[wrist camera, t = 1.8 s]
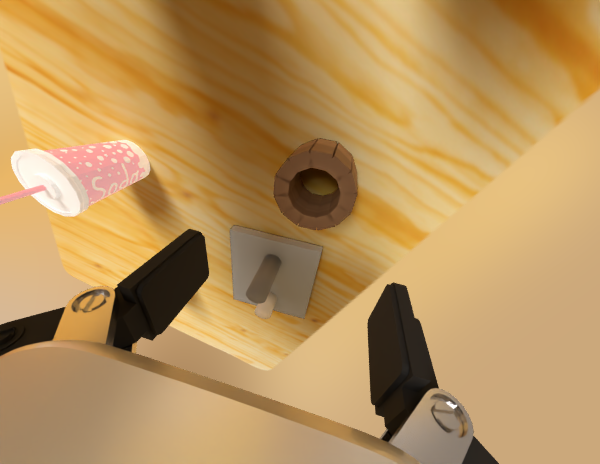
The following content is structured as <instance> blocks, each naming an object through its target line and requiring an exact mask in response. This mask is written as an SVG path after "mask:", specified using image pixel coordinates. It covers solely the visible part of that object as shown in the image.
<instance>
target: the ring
mask: <svg viewBox="0 0 600 464" xmlns="http://www.w3.org/2000/svg"><path fill="white" fill-rule="evenodd" d="M308 168H316V169H320V170H325V171H327V172H328V173H329V174H330V175H331V176H332V177H333V178H335V179H336V180H337V183H338V186H339V187H338V188H337V189H336V190H335V191H334V192H333V193H331V194H327V195H324V196H321V195H317V194H312V193H311V192H310V191H309V190H307V189H306V188H305V187H304V185H303V183H302V180H301V178H300V173H301V171H303V170H306V169H308ZM274 195H275V196H274V198H275V200H276V202H277V204H278V206H279V208H280V210H281V213H282V212H284V213H283V215H284V216H286V217H287V218H288V219H289V220H291V221H292V222H293V223H295V224H296V225H298V224H299V225H298V226H300V227H304V228H309V229H313V230H316V228H317V230H321V229H326V228H330V227H335V225H338V224H339V223H340V222H342V221H343V220H344V219H345V218H346V217H347V216H349V215H350V214H351V212H352V209H353V206H354V203H355V200H356V197H357V171H356V167H355V163H354V159H353V156H352V154H350V153H349V152H348V151H347V150H346V149H345V148H344V147H343V146H342V145H341V144H340V143H338V144H337V142H336V141H331V140H326V139H321V138H320V139H319V140H318V139H315V140H313V141H310V142H307V143H305V144H302V145H301V146H300V147H299V148H298V149H297V150H296V151H295V152H294V153H293V154H292V155H291V156H290V157H289V158H288V159H287V160H286V161H285V162H284V164H283V165H282V167H281V168H280V169H279V171H278V172H277V173H276V176H275V182H274Z"/></svg>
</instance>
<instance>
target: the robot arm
mask: <svg viewBox="0 0 600 464" xmlns="http://www.w3.org/2000/svg"><path fill="white" fill-rule="evenodd" d="M208 276H209V268H208V260H207V252H206V244H205V237H204V236H203V235H202V233H201V232H199V231H195V230H191V229H188V230H187V231H185V232H184V233H183V234H182V235H180V236H179V237H178V238H176V239H175V240H174V241H173V242H171V243H170V244H169V245H168V246H166V247H165V248H164V249H162V250H161V251H160V252H159V253H157V254H156V255H155V256H153V257H152V258H151V259H150V260H148V261H147V262H146V263H144V264H143V265H142V266H141V267H139V268H138V269H137V270H136V271H134V272H133V273H132V274H130V275H129V276H128V277H127V278H125V279H124V280H123V281H121V282H120V283H119V284H118V285H117V286H118V287H117V288H115V289H114V290H113V288H110V287H108V286H98V287H93V288H90V289H87V290H85V291H83V292H80V293H79V294H77V295H76V296H74V297H73V298H72V299H71V300H70V301H69V302H68V304H67V305H66V307H63V308H60V309H56V310H52V311H48V312H44V313H41V314H37V315H33V316H30V317H26V318H22V319H18V320H15V321H11V322H7V323H4V324H1V325H0V464H499V463H498V462H497V461H496V460H495V459H494V458H493V457H492V456H491V454H490V453H489V452H488V451H487V450H486V449H485V448H484V447H483V446H482V444H480V442H479V441H478V440H477V439H476V438H475V437H474V436H473V433H474V431H473V425H472V422H471V419H470V417H469V415H468V413H467V411H466V410H465V408H464V407H463V406H462V404H461V403H460V402H459V401H458V400H457V399H456V398H455V397H454V396H452V395H451V394H450V393H448V392H446V391H444V390H442V389H439V387H438V384H437V380H436V377H435V373H434V369H433V366H432V362H431V359H430V355H429V351H428V348H427V344H426V341H425V337H424V334H423V330H422V327H421V324H420V321H419V320H418V319H416V318H414V314H413V310H412V306H411V302H410V298H409V294H408V291H407V288H406V286H404V285H400V284H396V283H392V284H391V285H387V286H386V287H385V289H384V291H383V293H382V295H381V297H380V299H379V300H378V302H377V304H376V306H375V308H374V310H373V311H372V313H371V315H370V317H369V319H368V347H369V370H370V391H371V403H372V404H373V405H375V411H376V415H379V416H382V417H384V420H385V427H386V428H387V429H386V431H385V432H384V433H383V435H382V436H381V438H380V439H379V438H376V437H374V436H372V435H369V434H367V433H364V432H362V431H359V430H357V429H354V428H351V427H348V426H346V425H343V424H340V423H337V422H335V421H332V420H329V419H327V418H323V417H321V416H318V415H315V414H312V413H309V412H306V411H304V410H301V409H298V408H295V407H292V406H289V405H286V404H283V403H280V402H278V401H275V400H272V399H269V398H266V397H263V396H260V395H257V394H254V393H252V392H249V391H246V390H243V389H240V388H236V387H234V386H231V385H228V384H225V383H222V382H219V381H216V380H213V379H210V378H208V377H205V376H201V375H198V374H196V373H193V372H190V371H187V370H184V369H181V368H178V367H175V366H172V365H169V364H166V363H163V362H160V361H157V360H154V359H151V358H148V357H145V356H142V355H139V354H136V347H137V341H138V340H139V339H140V338H141V337H143V338H146V339H149V340H153V339H154V338H155V337H156V336H157V335H159V334H161V333H162V332H163V331H164V330H165V329H166V328H167V327H168V325H169V324H170V323H171V322H172V321H173V319H174V318H175V317H176V316H177V315H178V313H179V312H180V311H181V310H182V309H183V307H184V306H185V305H186V304H187V303H188V301H189V300H190V299H191V298H192V296H193V295H194V294H195V293H196V292H197V290H198V289H199V288H200V287H201V286H202V284H203V283H204V282H205V281H206V280H207V278H208Z"/></svg>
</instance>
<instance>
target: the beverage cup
mask: <svg viewBox="0 0 600 464" xmlns="http://www.w3.org/2000/svg"><path fill="white" fill-rule="evenodd" d="M11 163H12V169H13V171H14V173H15V175H16V176H17V178H18V180H19V182H20V183H21V184H22V185H23V187H24V188H25V189H26V190H23V191H19V192H16V193H13V194H9V195H6V196H3V197H0V205H1V204H3V203H7V202H10V201H13V200H16V199H19V198H22V197H25V196H28V195H31V196H33V197H34V198H35V199H36V200H37V201H38V202H39V203H41V204H42V205H43V206H45V207H47V208H48V209H50V210H51V211H53V212H55V213H58V214H60V215H63V216H76V215H78V214H79V213H82V212H84V211H85V210H86V209H87V208H88V206H90V205H92V204H94V203H96V202H98V201H100V200H102V199H104V198H106V197H108V196H110V195H112V194H113V193H115V192H117V191H119V190H121V189H123V188H125V187H127V186H129V185H131V184H133V183H135V182H137V181H139V180H141V179H143V178H145V177H146V176H148V175H149V172H150V163H149V161H148V158H147V156H146V154H145V153H144V152H143V151H142V150H141V148H140V147H138V146H137V145H136V144H134V143H133V142H131V141H128V140H119V141H111V142H104V143H97V144H89V145H82V146H74V147H67V148H60V149H52V150H45V151H42V150H39V149H29V150H22V151H15V152H14V154H13V155H12V157H11Z"/></svg>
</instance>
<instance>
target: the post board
mask: <svg viewBox="0 0 600 464" xmlns="http://www.w3.org/2000/svg"><path fill="white" fill-rule="evenodd" d="M230 243H231V260H232V278H233V295H234V299H235V300H239V301H242V302H246V303H249V304H253V305H256V306H257V307H256V309H255V314H256V315H257V316H258V317H260V318H263V319H268V318H270V317H271V314H272V311H273V310H274V311H278V312H281V313H285V314H288V315H292V316H296V317H299V318H303V319H304V318H305V314H306V310H307V307H308V303H309V299H310V295H311V291H312V287H313V284H314V280H315V276H316V272H317V268H318V264H319V260H320V257H321V253H322V248H323V247H322V246H318V245H314V244H309V243H305V242H301V241H297V240H293V239H289V238H285V237H281V236H277V235H273V234H269V233H265V232H261V231H257V230H252V229H248V228H244V227H240V226H236V225H234V226H233V227H232V228H231V229H230Z"/></svg>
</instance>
